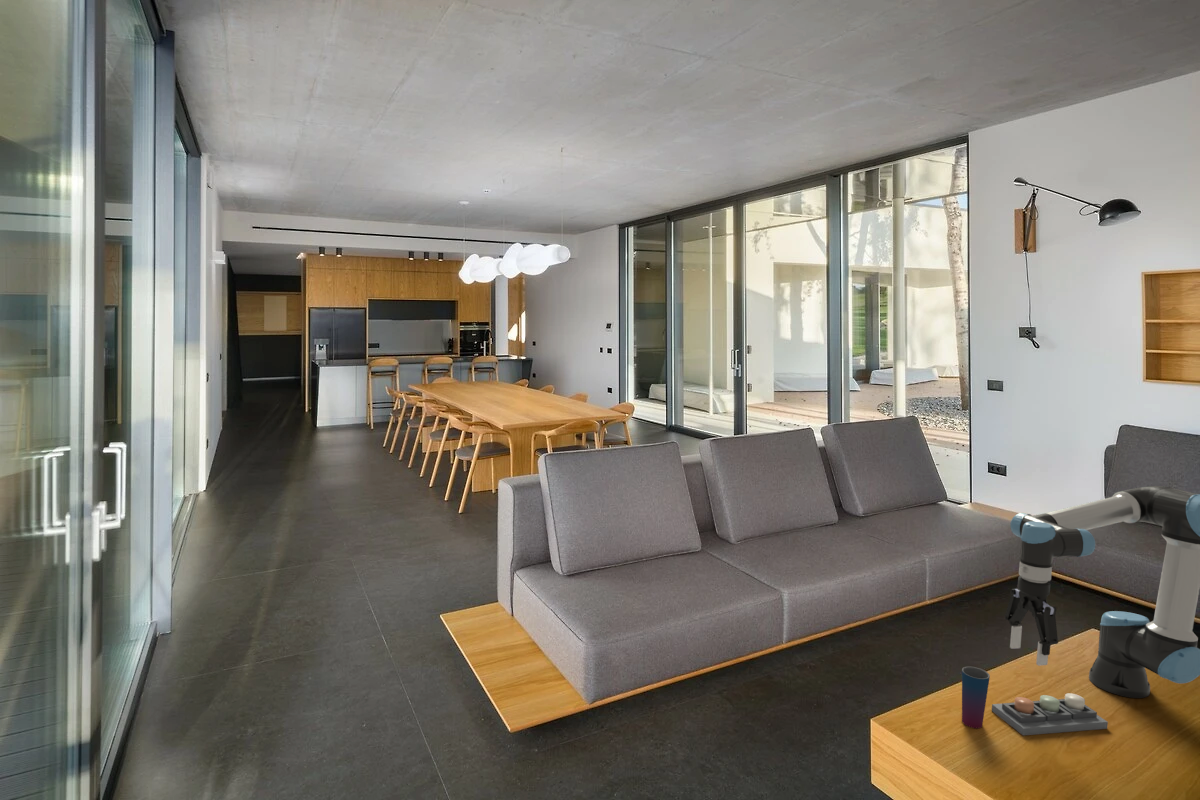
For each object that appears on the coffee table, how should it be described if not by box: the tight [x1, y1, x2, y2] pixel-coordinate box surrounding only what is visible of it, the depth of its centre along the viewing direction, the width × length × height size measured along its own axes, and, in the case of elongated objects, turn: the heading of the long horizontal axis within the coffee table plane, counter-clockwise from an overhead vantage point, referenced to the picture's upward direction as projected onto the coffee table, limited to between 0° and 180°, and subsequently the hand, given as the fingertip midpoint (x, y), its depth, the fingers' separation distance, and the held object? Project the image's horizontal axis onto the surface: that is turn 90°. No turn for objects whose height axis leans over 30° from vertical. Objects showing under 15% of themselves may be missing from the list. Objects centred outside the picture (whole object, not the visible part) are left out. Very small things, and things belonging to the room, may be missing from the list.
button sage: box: [1039, 694, 1060, 712], centre depth 190 cm, size 5×5×2 cm
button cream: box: [1064, 692, 1086, 710], centre depth 191 cm, size 5×5×2 cm
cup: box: [961, 666, 991, 729], centre depth 188 cm, size 7×7×15 cm
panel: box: [991, 698, 1109, 736], centre depth 191 cm, size 26×12×4 cm, turn 98°
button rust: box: [1014, 696, 1034, 714], centre depth 189 cm, size 5×5×2 cm
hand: (1028, 655), depth 188 cm, fingers open, 9 cm apart
